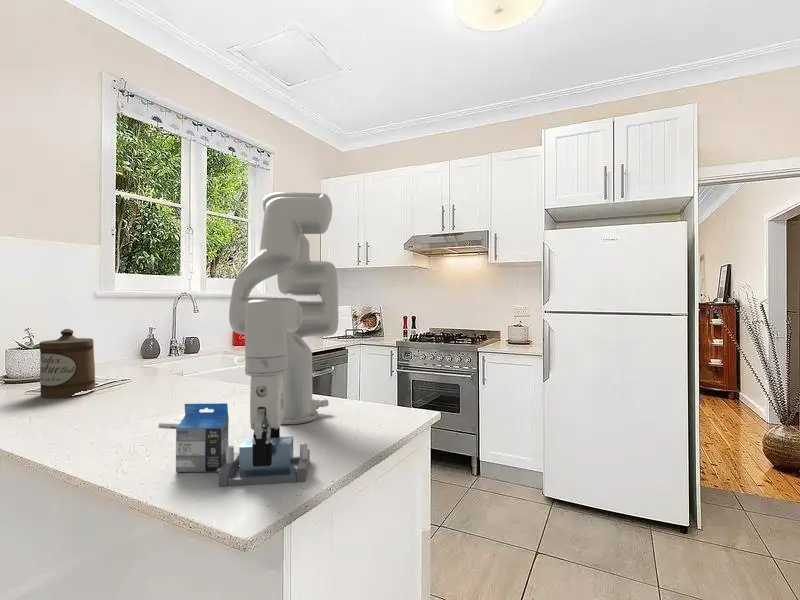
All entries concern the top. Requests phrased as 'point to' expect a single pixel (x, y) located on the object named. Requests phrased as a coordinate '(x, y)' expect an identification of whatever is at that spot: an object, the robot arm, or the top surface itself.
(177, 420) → the external hard drive
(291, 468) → the light blue block
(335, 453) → the top surface
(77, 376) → the wooden container
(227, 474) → the dock
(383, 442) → the top surface
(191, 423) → the label tape box
